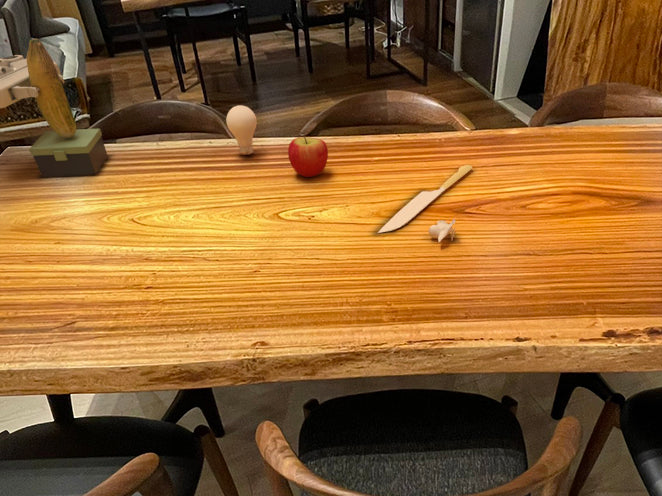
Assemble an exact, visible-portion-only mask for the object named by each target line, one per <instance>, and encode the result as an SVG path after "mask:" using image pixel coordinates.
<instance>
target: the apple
mask: <svg viewBox="0 0 662 496" xmlns="http://www.w3.org/2000/svg"><path fill="white" fill-rule="evenodd" d="M296 131H297V132H298V133H300V134H301V136H302V137H301V136H300V137H296V138H293V139H292V140H291V141H290V143H289V145H288V149H287V151H288V152H287V156H288V161H289V163H290V165H291V166H292V169H293V171H295V172H296V173H297V174H299V176H302V177H307V178H313V177H316V176H319V175H320V174H322V172H323V171H324V170H325V168H326V165H327V162H328V158H329V149H328V146H327V143H326V141H324V140H323V139H321V138H316V137H311V136H310V137H309V136H305V135H304V134H303V132H302V131H300V129H296Z"/></svg>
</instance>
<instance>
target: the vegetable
mask: <svg viewBox="0 0 662 496" xmlns="http://www.w3.org/2000/svg"><path fill="white" fill-rule="evenodd" d="M25 59H26V60H27V67H28V73H29V79H30V83H31V86H38V87H39V88H40V91H41V93H42V94H41V95H40V96H38V97H34V100H35V101H36V104H37V107H38V108H39V111H40V113H41V114H42V116H43V118H44V119H45V121H46V123H47V125H48V126H49V127H50V129H51V131H54V132H55V133H56V134H57V135H58V136H60V137H62V138H71V137H73V136H74V134H75V132H76V130H77V123H76V120H75V116H74V113H73V111H72V108H71V106H70V103H69V100H68V97H67V95H66V92H65V89H64V85H63V84H62V83H61V80H60V78H59V75H58V73H57V70H56V67H55V65H54V62H55V61H54V60H53V58H52V57H51V55H50V53H49V51H48V50H47V49H46V47H45V46H44V43H43V41H41V40H40V39H39V38H30V40H29V43H28V48H27V51H26V58H25ZM53 61H54V62H53Z"/></svg>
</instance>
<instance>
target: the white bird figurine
mask: <svg viewBox="0 0 662 496" xmlns="http://www.w3.org/2000/svg"><path fill="white" fill-rule="evenodd" d="M455 224H456V217H454V218H453V219H452V221H451V222H450V223H448V222H447V221H446V220H444V219H443V220H442V219H441V220H437V224H433V225H430V227H429V228H428V234H429V236H430V237H432V238H435V239H437V240H438V241H437V242H438V243H440V242H441V241H442V240H443V239H444V238H445V237H447V236H448V235H449V234H450V238H451V240H454V239H453V238H454V236H455V234H456V232H457V231H456V229H457V228H456V227H454V228H453V225H455Z"/></svg>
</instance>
